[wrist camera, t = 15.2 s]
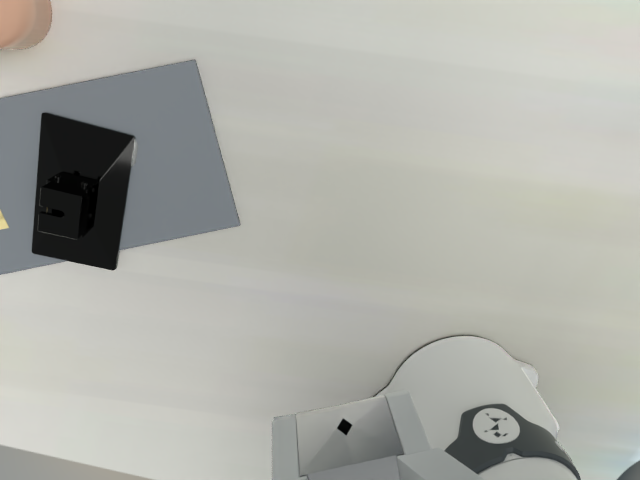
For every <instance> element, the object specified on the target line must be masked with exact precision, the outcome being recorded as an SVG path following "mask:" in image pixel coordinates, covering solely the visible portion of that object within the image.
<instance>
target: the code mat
mask: <svg viewBox="0 0 640 480" xmlns="http://www.w3.org/2000/svg"><path fill="white" fill-rule="evenodd" d="M44 112H47V113H51V114H55V115H59V116H63V117H66V118H70V119H74V120H78V121H81V122H85V123H89V124H93V125H97V126H100V127H104V128H108V129H112V130H116V131H119V132H123V133H127V134H131V135H134V136H135V137H136V141H137V143H138V151H137V158H136V163H135V164H134V166H133V167H132V168H131V175H130V181H129V188H128V195H127V202H126V208H125V215H124V222H123V229H122V235H121V242H120V249H119V250H123V249H128V248H133V247H138V246H143V245H148V244H153V243H158V242H162V241H167V240H172V239H177V238H182V237H187V236H192V235H197V234H202V233H206V232H211V231H216V230H221V229H226V228H231V227H236V226H240V222H239V218H238V214H237V211H236V207H235V203H234V200H233V196H232V192H231V189H230V185H229V181H228V178H227V174H226V170H225V167H224V163H223V159H222V156H221V152H220V148H219V145H218V141H217V137H216V134H215V130H214V126H213V123H212V119H211V115H210V112H209V108H208V104H207V101H206V97H205V93H204V90H203V86H202V82H201V79H200V75H199V71H198V68H197V64H196V60H191V61H186V62H181V63H176V64H171V65H166V66H161V67H156V68H151V69H146V70H141V71H136V72H131V73H126V74H121V75H116V76H111V77H106V78H101V79H96V80H91V81H86V82H81V83H76V84H71V85H66V86H61V87H55V88H50V89H45V90H40V91H35V92H30V93H25V94H20V95H15V96H10V97H5V98H0V275H1V274H6V273H11V272H16V271H21V270H26V269H31V268H36V267H40V266H45V265H50V264H55V263H60V262H65V261H66V260H61V259H56V258H51V257H47V256H42V255H37V254H33V253H32V238H33V225H34V211H35V197H36V183H37V169H38V156H39V142H40V128H41V115H42V113H44Z"/></svg>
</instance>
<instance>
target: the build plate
mask: <svg viewBox="0 0 640 480" xmlns="http://www.w3.org/2000/svg"><path fill="white" fill-rule="evenodd" d="M137 151H138V143H137V141H136V137H135V136H134V135H131V134H127V133H123V132H119V131H116V130H112V129H108V128H104V127H100V126H97V125H93V124H89V123H85V122H81V121H78V120H74V119H70V118H66V117H63V116H59V115H55V114H51V113H47V112H44V113H42V115H41V128H40V142H39V156H38V169H37V183H36V197H35V211H34V225H33V238H32V253H33V254H37V255H42V256H47V257H51V258H56V259H61V260H66V261H71V262H75V263H80V264H85V265H90V266H95V267H100V268H104V269H109V270H115V269H116V268H117V263H118V256H119V249H120V242H121V235H122V229H123V222H124V215H125V208H126V202H127V195H128V188H129V181H130V175H131V168H132V167H133V166H134V164H135V163H136V158H137Z"/></svg>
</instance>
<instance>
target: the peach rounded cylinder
mask: <svg viewBox="0 0 640 480" xmlns="http://www.w3.org/2000/svg"><path fill="white" fill-rule="evenodd" d="M51 22H52V7H51V2H50V0H0V49H26V48H30V47H32V46H35V45H36V44H38V43H39V42H41V41H42V40H43V39H44V37H45V36H46V35H47V33H48V31H49V29H50V26H51Z"/></svg>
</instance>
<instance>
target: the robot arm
mask: <svg viewBox="0 0 640 480" xmlns="http://www.w3.org/2000/svg"><path fill="white" fill-rule="evenodd" d="M538 378H539V377H538V373H537V372H536V370H535V369H534V367H533V366H531V365H529V364H527V363H524V362H521V361H518V360H515V359H514V358H512V357H511V356H510V355H509V354H508V353H507V352H506V351H505V350H504V349H503V348H502V347H500V346H499V345H498V344H496V343H494V342H492V341H490V340H487V339H484V338H480V337H474V336H457V337H450V338H446V339H442V340H439V341H436V342H434V343H431V344H429V345H427V346H425V347H423V348H422V349H420V350H419V351H417V352H416V353H414V354H413V355H412V356H411V357H409V358H408V359H407V360H406V361H405V362H404V363H403V365H402V366H401V367H400V368H399V370H398V371H397V373H396V374H395V376H394V378H393V379H392V381H391V383H390V384H389V385H388V387H386V388H385V389H384V390H382V391H381V392H380V393H379V394H377V395H376V396H375V397H372V398H367V399H363V400H358V401H354V402H349V403H345V404H340V405H336V406H331V407H326V408H320V409H315V410H310V411H304V412H299V413H297V414H291V415H286V416H280V417H274V418H273V422H272V480H581V479H580V476H579V473H578V471H577V470H576V468H575V466H574V465H573V463H572V460H571V458H570V457H569V455H568V454H567V452H566V451H565V449H564V448H563V447H562V446H561V445H560V444H559V443H558V442H557V434H558V431H559V425H558V423H557V421H556V419H555V418H554V416H553V414H552V413H551V411H550V410H549V408H548V407H547V405H546V403H545V402H544V400H543V399H542V397H541V396H540V394H539V393H538V391H537V389H536V386H537V383H538Z"/></svg>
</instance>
